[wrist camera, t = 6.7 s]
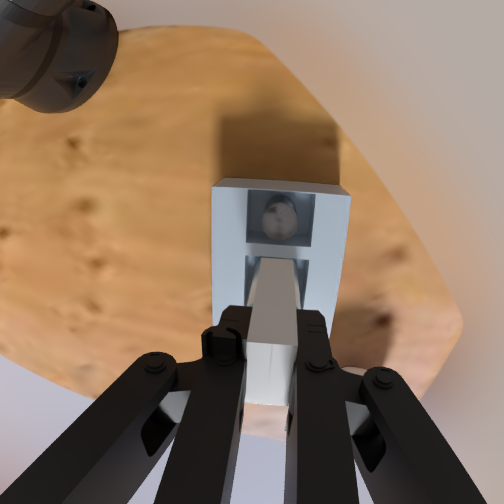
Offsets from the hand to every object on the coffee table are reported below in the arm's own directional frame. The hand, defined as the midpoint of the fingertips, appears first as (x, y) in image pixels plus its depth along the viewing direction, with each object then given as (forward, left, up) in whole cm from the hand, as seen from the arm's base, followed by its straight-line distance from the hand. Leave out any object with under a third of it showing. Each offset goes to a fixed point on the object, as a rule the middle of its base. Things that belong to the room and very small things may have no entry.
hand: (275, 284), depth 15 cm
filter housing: (+7, 0, -19) cm, 20 cm away
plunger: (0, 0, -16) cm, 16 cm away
